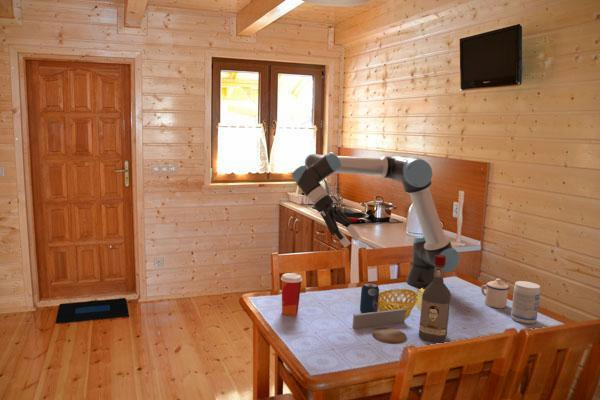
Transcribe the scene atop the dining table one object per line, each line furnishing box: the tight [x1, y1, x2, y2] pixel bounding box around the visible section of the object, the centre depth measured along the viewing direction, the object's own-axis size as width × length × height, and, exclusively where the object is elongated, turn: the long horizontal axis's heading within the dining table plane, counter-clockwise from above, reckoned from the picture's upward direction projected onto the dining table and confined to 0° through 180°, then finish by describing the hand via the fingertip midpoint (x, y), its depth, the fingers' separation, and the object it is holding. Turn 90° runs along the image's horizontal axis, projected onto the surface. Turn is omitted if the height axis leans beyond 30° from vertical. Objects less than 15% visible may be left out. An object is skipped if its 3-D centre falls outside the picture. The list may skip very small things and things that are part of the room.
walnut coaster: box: [371, 327, 407, 344], centre depth 187 cm, size 12×12×1 cm
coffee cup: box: [280, 272, 303, 317], centre depth 202 cm, size 8×8×15 cm
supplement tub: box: [510, 280, 541, 325], centre depth 209 cm, size 10×10×15 cm
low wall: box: [352, 308, 407, 330], centre depth 196 cm, size 1×22×5 cm, turn 114°
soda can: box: [359, 281, 380, 314], centre depth 206 cm, size 7×7×12 cm
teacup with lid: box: [480, 278, 510, 309], centre depth 226 cm, size 12×9×12 cm
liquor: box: [418, 255, 452, 344], centre depth 185 cm, size 9×9×30 cm
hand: (353, 242), depth 206 cm, fingers open, 13 cm apart
